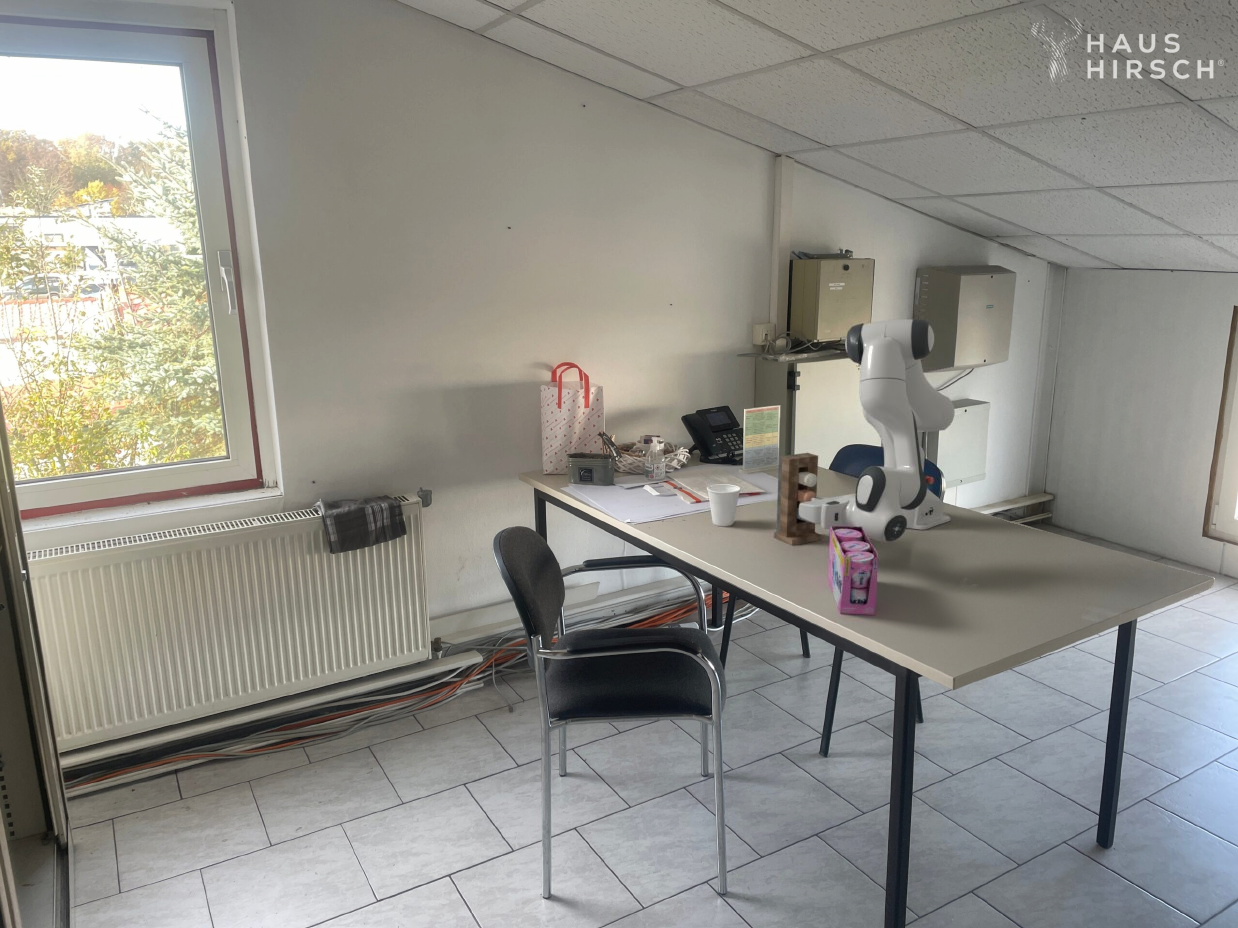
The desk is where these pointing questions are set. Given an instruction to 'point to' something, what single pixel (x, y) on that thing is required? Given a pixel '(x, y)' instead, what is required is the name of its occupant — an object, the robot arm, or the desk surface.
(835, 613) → the desk surface
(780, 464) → the wooden dispenser tower
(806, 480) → the cream button
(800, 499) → the terracotta button
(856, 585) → the gum box
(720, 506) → the cup
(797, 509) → the slate button
